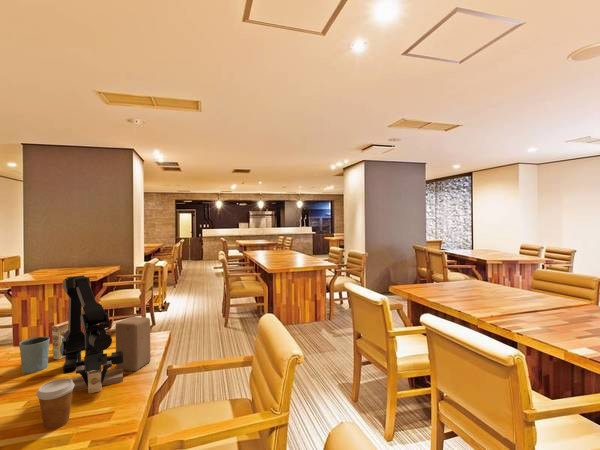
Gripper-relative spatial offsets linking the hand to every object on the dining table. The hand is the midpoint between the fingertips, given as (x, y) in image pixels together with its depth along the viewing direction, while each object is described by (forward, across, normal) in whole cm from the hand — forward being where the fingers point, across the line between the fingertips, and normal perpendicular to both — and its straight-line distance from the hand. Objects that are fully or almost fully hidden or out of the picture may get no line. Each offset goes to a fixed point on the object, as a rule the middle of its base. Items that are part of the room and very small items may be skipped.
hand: (95, 384), depth 122 cm
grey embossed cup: (+2, -24, +33) cm, 40 cm away
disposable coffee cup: (+2, -9, -18) cm, 20 cm away
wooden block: (+2, +13, +15) cm, 20 cm away
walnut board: (+2, -2, +6) cm, 7 cm away
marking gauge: (+2, 0, +3) cm, 4 cm away
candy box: (+2, -15, +43) cm, 45 cm away
